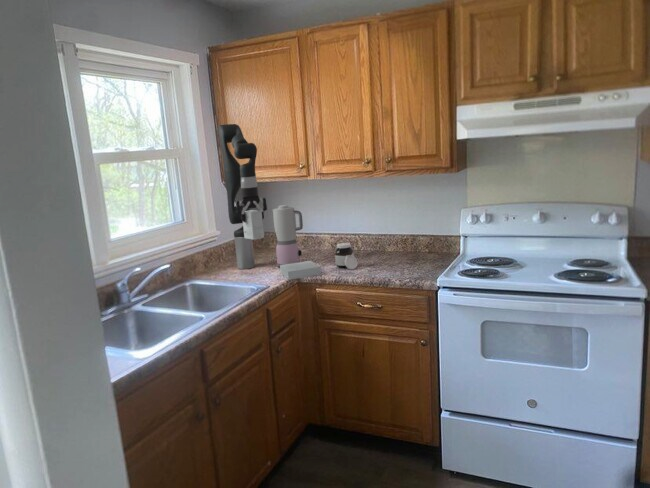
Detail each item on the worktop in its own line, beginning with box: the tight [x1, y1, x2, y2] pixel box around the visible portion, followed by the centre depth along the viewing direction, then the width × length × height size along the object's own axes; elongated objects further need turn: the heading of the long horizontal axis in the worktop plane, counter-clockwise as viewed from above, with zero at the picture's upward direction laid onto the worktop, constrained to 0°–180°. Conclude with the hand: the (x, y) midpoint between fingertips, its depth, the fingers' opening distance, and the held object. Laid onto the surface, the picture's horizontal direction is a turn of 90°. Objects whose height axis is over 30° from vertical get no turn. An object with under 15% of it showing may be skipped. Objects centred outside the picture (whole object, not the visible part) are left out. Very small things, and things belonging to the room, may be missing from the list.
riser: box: [279, 260, 322, 281], centre depth 238 cm, size 16×16×4 cm
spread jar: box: [334, 242, 358, 270], centre depth 243 cm, size 12×11×12 cm
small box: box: [242, 209, 265, 241], centre depth 233 cm, size 8×6×13 cm
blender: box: [272, 204, 304, 269], centre depth 255 cm, size 16×12×32 cm
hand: (253, 220), depth 232 cm, fingers closed on small box, 8 cm apart
